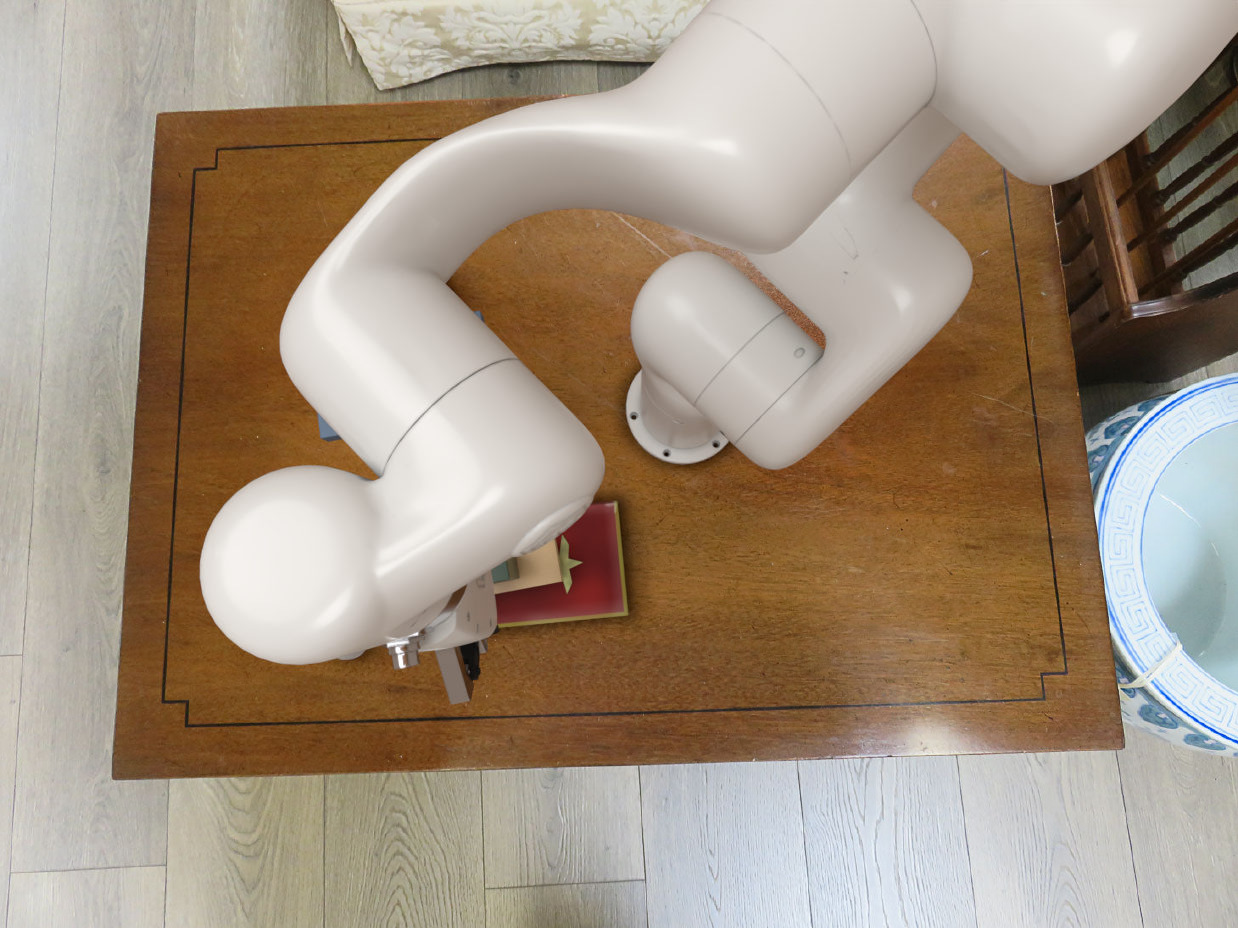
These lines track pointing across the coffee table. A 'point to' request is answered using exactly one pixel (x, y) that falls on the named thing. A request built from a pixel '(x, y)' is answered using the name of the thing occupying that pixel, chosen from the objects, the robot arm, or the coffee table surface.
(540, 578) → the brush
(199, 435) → the coffee table surface
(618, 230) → the coffee table surface
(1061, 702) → the coffee table surface
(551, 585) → the hardcover book
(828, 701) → the coffee table surface
